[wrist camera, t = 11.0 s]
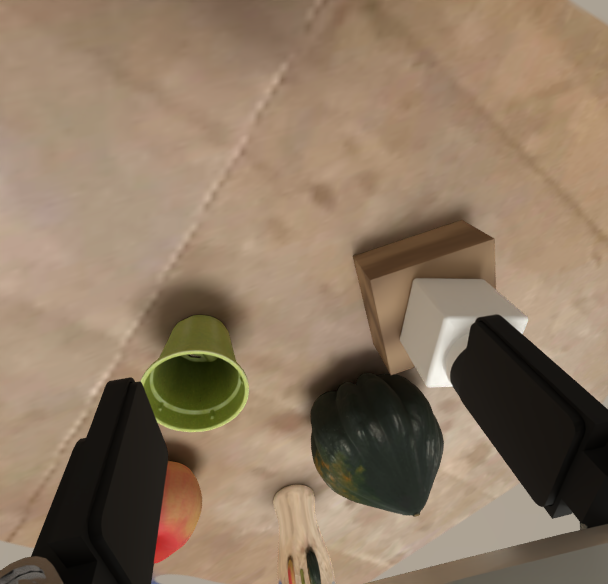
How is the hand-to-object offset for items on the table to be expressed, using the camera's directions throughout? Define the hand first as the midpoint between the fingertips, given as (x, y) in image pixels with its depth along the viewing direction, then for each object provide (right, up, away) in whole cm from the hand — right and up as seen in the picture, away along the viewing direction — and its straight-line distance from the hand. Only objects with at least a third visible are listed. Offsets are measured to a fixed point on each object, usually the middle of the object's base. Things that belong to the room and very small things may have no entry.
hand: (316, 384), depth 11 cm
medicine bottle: (+13, +1, +27) cm, 30 cm away
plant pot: (-11, -2, +31) cm, 33 cm away
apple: (-18, -20, +39) cm, 47 cm away
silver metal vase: (-2, -28, +46) cm, 54 cm away
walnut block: (+12, +3, +32) cm, 35 cm away
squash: (+7, -11, +39) cm, 41 cm away
